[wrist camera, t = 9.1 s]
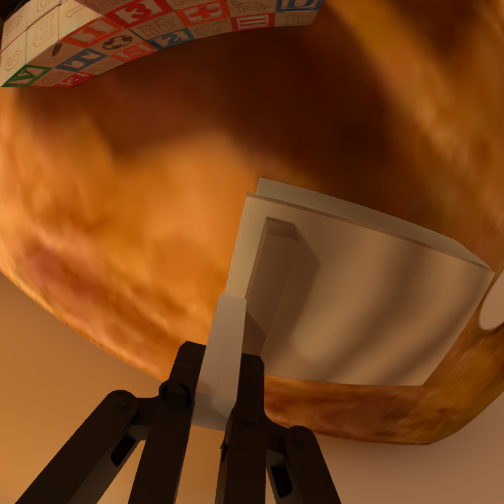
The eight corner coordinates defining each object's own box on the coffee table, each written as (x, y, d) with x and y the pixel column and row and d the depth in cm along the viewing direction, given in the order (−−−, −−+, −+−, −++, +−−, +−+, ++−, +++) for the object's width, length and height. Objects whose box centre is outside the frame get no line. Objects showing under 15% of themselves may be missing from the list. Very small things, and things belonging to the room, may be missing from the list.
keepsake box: (227, 309, 26) (219, 354, 20) (259, 176, 21) (257, 193, 15) (402, 339, 27) (421, 376, 21) (455, 239, 22) (490, 267, 16)
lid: (211, 354, 20) (203, 389, 17) (247, 192, 15) (242, 209, 12) (418, 377, 21) (430, 404, 18) (488, 267, 16) (512, 288, 13)
